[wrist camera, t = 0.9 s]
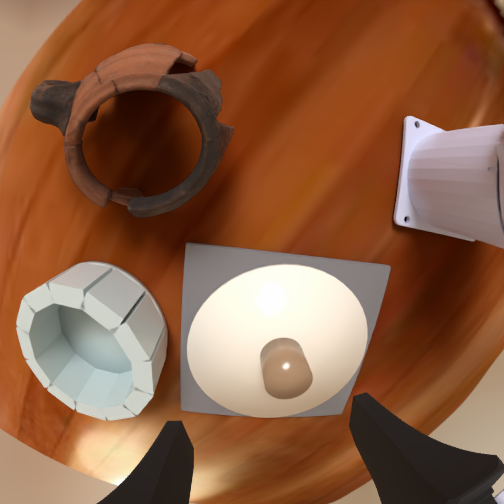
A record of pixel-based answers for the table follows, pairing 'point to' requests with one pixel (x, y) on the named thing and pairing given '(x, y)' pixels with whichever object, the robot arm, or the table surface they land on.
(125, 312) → the bowl
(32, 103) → the dark brown rounded loops
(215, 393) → the lid
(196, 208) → the table surface
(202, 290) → the mat
